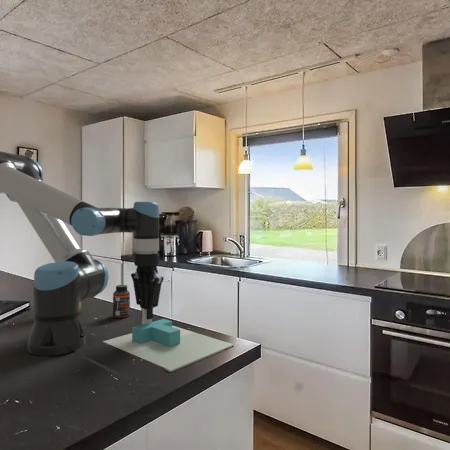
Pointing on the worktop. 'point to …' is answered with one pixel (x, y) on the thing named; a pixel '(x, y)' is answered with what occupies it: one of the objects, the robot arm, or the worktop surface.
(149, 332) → the t block
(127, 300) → the supplement bottle
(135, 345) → the board
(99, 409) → the worktop surface
